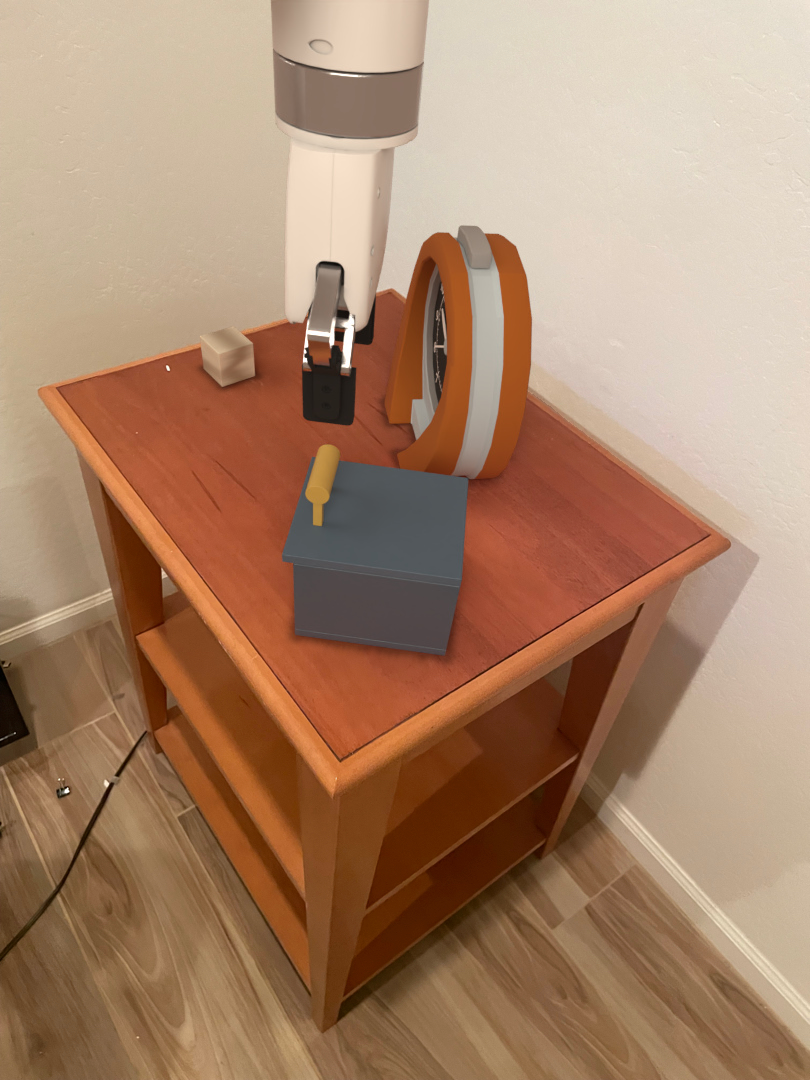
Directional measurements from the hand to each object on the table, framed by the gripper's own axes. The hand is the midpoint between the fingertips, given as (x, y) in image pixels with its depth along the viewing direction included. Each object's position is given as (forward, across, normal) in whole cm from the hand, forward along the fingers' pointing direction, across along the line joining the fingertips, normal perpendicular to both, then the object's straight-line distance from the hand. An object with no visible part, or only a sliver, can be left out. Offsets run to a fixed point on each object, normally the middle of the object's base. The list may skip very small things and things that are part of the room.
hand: (340, 378), depth 50 cm
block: (+21, -30, -18) cm, 41 cm away
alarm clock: (+22, -23, +8) cm, 32 cm away
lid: (+13, +1, +4) cm, 13 cm away
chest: (+21, +1, +4) cm, 22 cm away
